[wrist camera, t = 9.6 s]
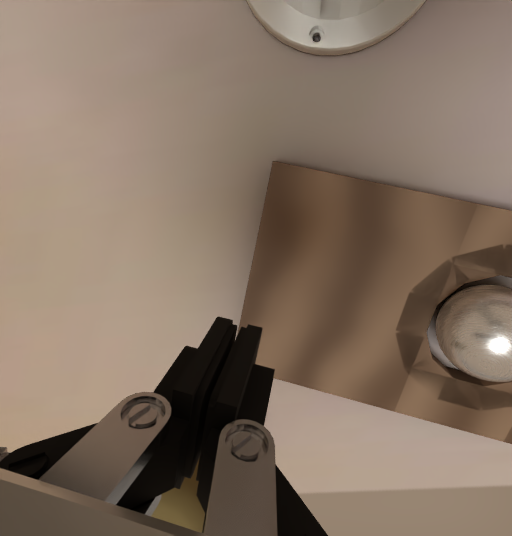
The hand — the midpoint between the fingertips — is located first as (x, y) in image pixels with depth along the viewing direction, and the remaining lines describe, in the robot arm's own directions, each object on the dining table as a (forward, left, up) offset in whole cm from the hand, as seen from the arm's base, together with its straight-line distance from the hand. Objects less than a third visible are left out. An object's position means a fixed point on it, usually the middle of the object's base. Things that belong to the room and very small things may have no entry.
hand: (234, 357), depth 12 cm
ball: (+1, +14, -11) cm, 18 cm away
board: (+1, +10, -14) cm, 17 cm away
